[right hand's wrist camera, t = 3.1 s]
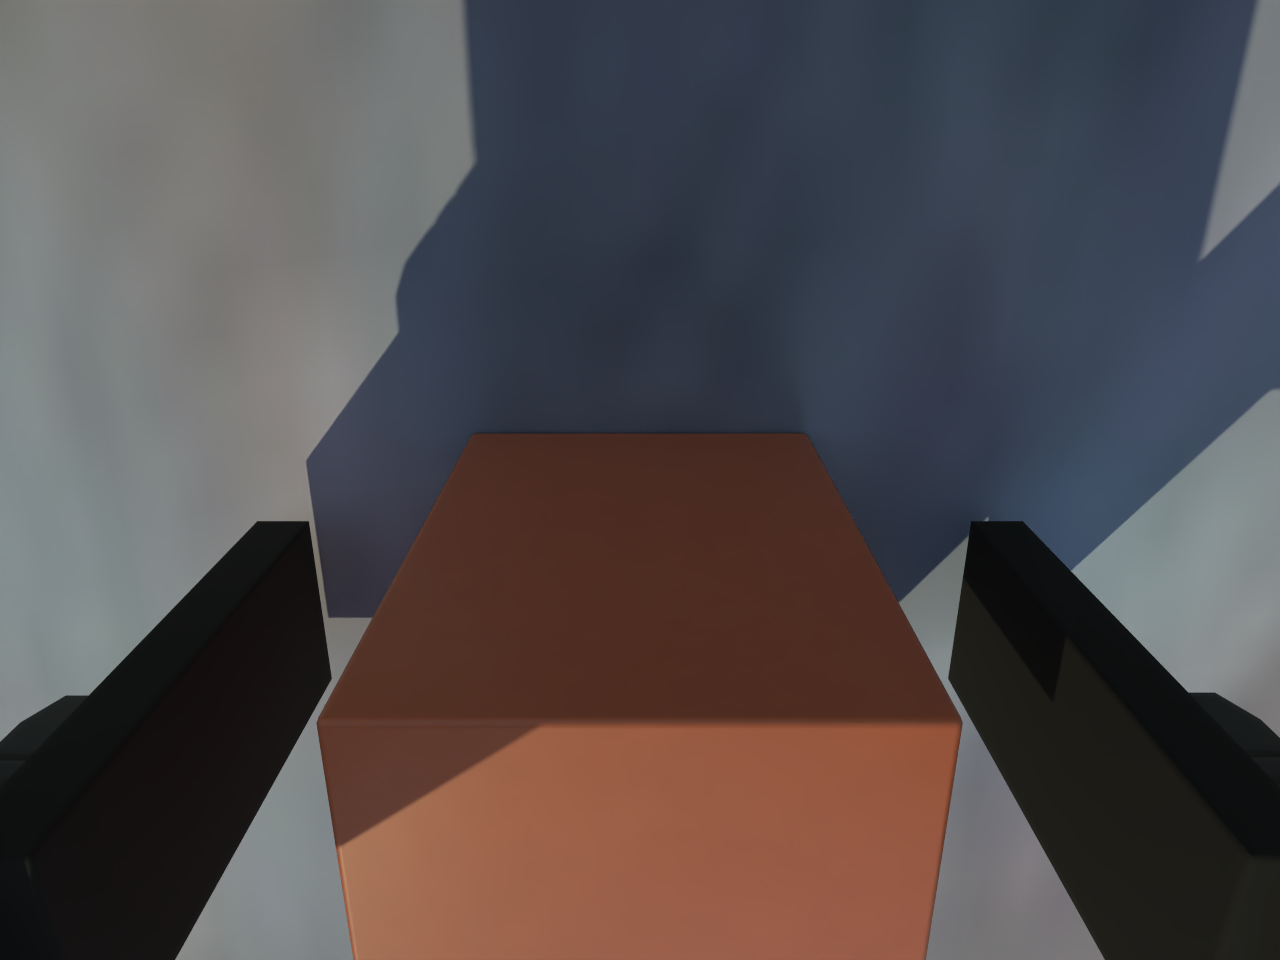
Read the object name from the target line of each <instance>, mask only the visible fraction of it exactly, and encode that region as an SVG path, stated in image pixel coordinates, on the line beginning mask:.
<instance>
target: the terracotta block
mask: <svg viewBox="0 0 1280 960" xmlns="http://www.w3.org/2000/svg"><path fill="white" fill-rule="evenodd" d="M317 729H318V735H319V742H320V748H321V755H322V761H323V767H324V774H325V780H326V787H327V793H328V799H329V806H330V812H331V818H332V825H333V831H334V838H335V844H336V850H337V857H338V863H339V870H340V876H341V882H342V889H343V895H344V901H345V908H346V914H347V921H348V927H349V933H350V940H351V946H352V953H353V959H354V960H926V954H927V948H928V941H929V935H930V929H931V922H932V916H933V909H934V903H935V897H936V890H937V884H938V877H939V871H940V865H941V858H942V852H943V845H944V839H945V832H946V826H947V820H948V813H949V807H950V800H951V794H952V788H953V781H954V775H955V768H956V762H957V756H958V749H959V743H960V736H961V730H962V720H961V717H960V715H959V713H958V712H957V710H956V708H955V706H954V704H953V702H952V701H951V699H950V697H949V695H948V693H947V691H946V689H945V688H944V686H943V684H942V682H941V680H940V678H939V677H938V675H937V673H936V671H935V669H934V667H933V666H932V664H931V662H930V660H929V658H928V656H927V654H926V653H925V651H924V649H923V647H922V645H921V643H920V642H919V640H918V638H917V636H916V634H915V632H914V631H913V629H912V627H911V625H910V623H909V621H908V619H907V618H906V616H905V614H904V612H903V610H902V608H901V607H900V605H899V603H898V601H897V599H896V597H895V596H894V594H893V592H892V590H891V588H890V586H889V584H888V583H887V581H886V579H885V577H884V575H883V573H882V572H881V570H880V568H879V566H878V564H877V562H876V560H875V559H874V557H873V555H872V553H871V551H870V549H869V548H868V546H867V544H866V542H865V540H864V538H863V537H862V535H861V533H860V531H859V529H858V527H857V525H856V524H855V522H854V520H853V518H852V516H851V514H850V513H849V511H848V509H847V507H846V505H845V503H844V502H843V500H842V498H841V496H840V494H839V492H838V490H837V489H836V487H835V485H834V483H833V481H832V479H831V478H830V476H829V474H828V472H827V470H826V468H825V467H824V465H823V463H822V461H821V459H820V457H819V455H818V454H817V452H816V450H815V448H814V446H813V444H812V443H811V441H810V439H809V437H808V435H806V434H804V433H798V434H473V435H472V436H471V438H470V439H469V441H468V443H467V445H466V447H465V449H464V450H463V452H462V454H461V456H460V458H459V460H458V462H457V463H456V465H455V467H454V469H453V471H452V473H451V474H450V476H449V478H448V480H447V482H446V484H445V485H444V487H443V489H442V491H441V493H440V495H439V497H438V498H437V500H436V502H435V504H434V506H433V508H432V509H431V511H430V513H429V515H428V517H427V519H426V520H425V522H424V524H423V526H422V528H421V530H420V532H419V533H418V535H417V537H416V539H415V541H414V543H413V544H412V546H411V548H410V550H409V552H408V554H407V555H406V557H405V559H404V561H403V563H402V565H401V567H400V568H399V570H398V572H397V574H396V576H395V578H394V579H393V581H392V583H391V585H390V587H389V589H388V590H387V592H386V594H385V596H384V598H383V600H382V602H381V603H380V605H379V607H378V609H377V611H376V613H375V614H374V616H373V618H372V620H371V622H370V624H369V625H368V627H367V629H366V631H365V633H364V635H363V637H362V638H361V640H360V642H359V644H358V646H357V648H356V649H355V651H354V653H353V655H352V657H351V659H350V660H349V662H348V664H347V666H346V668H345V670H344V672H343V673H342V675H341V677H340V679H339V681H338V683H337V684H336V686H335V688H334V690H333V692H332V694H331V695H330V697H329V699H328V701H327V703H326V705H325V707H324V708H323V710H322V712H321V714H320V716H319V718H318V721H317Z"/></svg>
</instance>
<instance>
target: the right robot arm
mask: <svg viewBox="0 0 1280 960" xmlns="http://www.w3.org/2000/svg"><path fill="white" fill-rule="evenodd" d="M331 679H332V677H331V670H330V663H329V657H328V650H327V643H326V636H325V629H324V622H323V616H322V609H321V602H320V595H319V588H318V581H317V574H316V568H315V561H314V554H313V547H312V540H311V533H310V527H309V521H257V522H256V523H255V524H254V525H253V526H252V527H251V529H250V530H249V531H248V532H247V533H246V534H245V535H244V536H243V537H242V538H241V539H240V540H239V541H238V542H237V543H236V544H235V545H234V546H233V547H232V548H231V549H230V550H229V551H228V552H227V553H226V554H225V555H224V556H223V557H222V558H221V560H220V561H219V562H218V563H217V564H216V565H215V566H214V567H213V568H212V569H211V570H210V571H209V572H208V573H207V574H206V575H205V576H204V577H203V578H202V579H201V580H200V581H199V582H198V583H197V584H196V585H195V586H194V587H193V588H192V590H191V591H190V592H189V593H188V594H187V595H186V596H185V597H184V598H183V599H182V600H181V601H180V602H179V603H178V604H177V605H176V606H175V607H174V608H173V609H172V610H171V611H170V612H169V613H168V614H167V615H166V616H165V617H164V618H163V619H162V621H161V622H160V623H159V624H158V625H157V626H156V627H155V628H154V629H153V630H152V631H151V632H150V633H149V634H148V635H147V636H146V637H145V638H144V639H143V640H142V641H141V642H140V643H139V644H138V645H137V646H136V647H135V648H134V649H133V651H132V652H131V653H130V654H129V655H128V656H127V657H126V658H125V659H124V660H123V661H122V662H121V663H120V664H119V665H118V666H117V667H116V668H115V669H114V670H113V671H112V672H111V673H110V674H109V675H108V676H107V677H106V678H105V679H104V680H103V682H102V683H101V684H100V685H99V686H98V687H97V688H96V689H95V690H94V691H93V692H92V693H91V694H90V695H89V696H65V697H63V698H61V699H59V700H58V701H56V702H54V703H53V704H51V705H49V706H48V707H46V708H44V709H43V710H41V711H39V712H37V713H36V714H34V715H32V716H31V717H29V718H27V719H26V720H24V721H22V722H21V723H19V724H18V725H17V726H16V727H15V728H14V729H13V730H12V731H11V732H10V733H9V734H8V735H7V736H6V737H5V738H4V739H3V740H2V741H1V742H0V960H175V959H176V957H177V955H178V953H179V952H180V950H181V948H182V946H183V945H184V943H185V941H186V939H187V937H188V936H189V934H190V932H191V930H192V928H193V927H194V925H195V923H196V921H197V919H198V918H199V916H200V914H201V912H202V910H203V909H204V907H205V905H206V903H207V901H208V900H209V898H210V896H211V894H212V893H213V891H214V889H215V887H216V885H217V884H218V882H219V880H220V878H221V876H222V875H223V873H224V871H225V869H226V867H227V866H228V864H229V862H230V860H231V858H232V857H233V855H234V853H235V851H236V849H237V848H238V846H239V844H240V842H241V840H242V839H243V837H244V835H245V833H246V832H247V830H248V828H249V826H250V824H251V823H252V821H253V819H254V817H255V815H256V814H257V812H258V810H259V808H260V806H261V805H262V803H263V801H264V799H265V797H266V796H267V794H268V792H269V790H270V788H271V787H272V785H273V783H274V781H275V780H276V778H277V776H278V774H279V772H280V771H281V769H282V767H283V765H284V763H285V762H286V760H287V758H288V756H289V754H290V753H291V751H292V749H293V747H294V745H295V744H296V742H297V740H298V738H299V736H300V735H301V733H302V731H303V729H304V728H305V726H306V724H307V722H308V720H309V719H310V717H311V715H312V713H313V711H314V710H315V708H316V706H317V704H318V702H319V701H320V699H321V697H322V695H323V693H324V692H325V690H326V688H327V686H328V684H329V683H330V681H331ZM948 679H949V681H950V683H951V684H952V686H953V688H954V690H955V692H956V693H957V695H958V697H959V699H960V701H961V702H962V704H963V706H964V708H965V710H966V711H967V713H968V715H969V717H970V719H971V720H972V722H973V724H974V726H975V727H976V729H977V731H978V733H979V735H980V736H981V738H982V740H983V742H984V744H985V745H986V747H987V749H988V751H989V753H990V754H991V756H992V758H993V760H994V762H995V763H996V765H997V767H998V769H999V771H1000V772H1001V774H1002V776H1003V778H1004V779H1005V781H1006V783H1007V785H1008V787H1009V788H1010V790H1011V792H1012V794H1013V796H1014V797H1015V799H1016V801H1017V803H1018V805H1019V806H1020V808H1021V810H1022V812H1023V814H1024V815H1025V817H1026V819H1027V821H1028V823H1029V824H1030V826H1031V828H1032V830H1033V832H1034V833H1035V835H1036V837H1037V839H1038V840H1039V842H1040V844H1041V846H1042V848H1043V849H1044V851H1045V853H1046V855H1047V857H1048V858H1049V860H1050V862H1051V864H1052V866H1053V867H1054V869H1055V871H1056V873H1057V875H1058V876H1059V878H1060V880H1061V882H1062V884H1063V885H1064V887H1065V889H1066V891H1067V892H1068V894H1069V896H1070V898H1071V900H1072V901H1073V903H1074V905H1075V907H1076V909H1077V910H1078V912H1079V914H1080V916H1081V918H1082V919H1083V921H1084V923H1085V925H1086V927H1087V928H1088V930H1089V932H1090V934H1091V936H1092V937H1093V939H1094V941H1095V943H1096V944H1097V946H1098V948H1099V950H1100V952H1101V953H1102V955H1103V957H1104V959H1105V960H1280V738H1279V737H1278V736H1277V735H1276V734H1275V733H1274V732H1273V731H1272V730H1271V729H1270V728H1269V727H1268V726H1267V725H1266V724H1265V723H1264V722H1263V721H1262V720H1260V719H1259V718H1257V717H1255V716H1254V715H1252V714H1250V713H1249V712H1247V711H1245V710H1243V709H1242V708H1240V707H1238V706H1237V705H1235V704H1233V703H1232V702H1230V701H1228V700H1226V699H1225V698H1223V697H1221V696H1220V695H1218V694H1216V693H1188V692H1187V691H1186V690H1185V689H1184V688H1183V687H1182V686H1181V685H1180V684H1179V683H1178V682H1177V680H1176V679H1175V678H1174V677H1173V676H1172V675H1171V674H1170V673H1169V672H1168V671H1167V670H1166V669H1165V668H1164V667H1163V666H1162V665H1161V664H1160V663H1159V662H1158V661H1157V660H1156V659H1155V658H1154V657H1153V656H1152V655H1151V654H1150V653H1149V652H1148V650H1147V649H1146V648H1145V647H1144V646H1143V645H1142V644H1141V643H1140V642H1139V641H1138V640H1137V639H1136V638H1135V637H1134V636H1133V635H1132V634H1131V633H1130V632H1129V631H1128V630H1127V629H1126V628H1125V627H1124V626H1123V625H1122V624H1121V623H1120V622H1119V621H1118V619H1117V618H1116V617H1115V616H1114V615H1113V614H1112V613H1111V612H1110V611H1109V610H1108V609H1107V608H1106V607H1105V606H1104V605H1103V604H1102V603H1101V602H1100V601H1099V600H1098V599H1097V598H1096V597H1095V596H1094V595H1093V594H1092V593H1091V592H1090V591H1089V589H1088V588H1087V587H1086V586H1085V585H1084V584H1083V583H1082V582H1081V581H1080V580H1079V579H1078V578H1077V577H1076V576H1075V575H1074V574H1073V573H1072V572H1071V571H1070V570H1069V569H1068V568H1067V567H1066V566H1065V565H1064V564H1063V563H1062V562H1061V561H1060V560H1059V558H1058V557H1057V556H1056V555H1055V554H1054V553H1053V552H1052V551H1051V550H1050V549H1049V548H1048V547H1047V546H1046V545H1045V544H1044V543H1043V542H1042V541H1041V540H1040V539H1039V538H1038V537H1037V536H1036V535H1035V534H1034V533H1033V532H1032V531H1031V530H1030V528H1029V527H1028V526H1027V525H1026V524H1025V523H1024V522H1023V521H971V527H970V534H969V540H968V547H967V554H966V561H965V568H964V575H963V581H962V588H961V595H960V602H959V609H958V616H957V622H956V629H955V636H954V643H953V650H952V657H951V664H950V670H949V677H948Z"/></svg>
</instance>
